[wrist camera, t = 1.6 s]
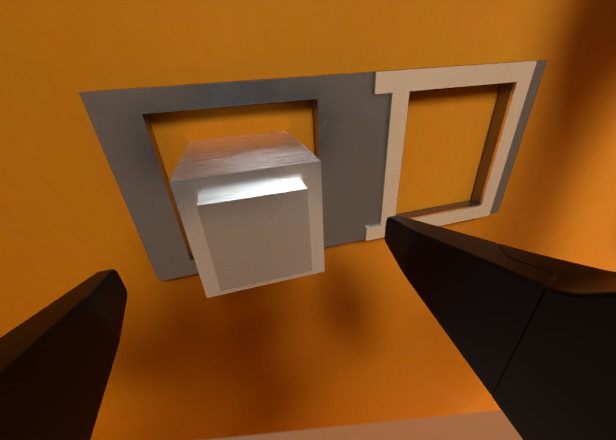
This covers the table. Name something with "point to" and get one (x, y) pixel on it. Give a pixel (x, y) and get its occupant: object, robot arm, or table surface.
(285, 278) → the grey upright rectangular block
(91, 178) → the table surface
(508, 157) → the rail
